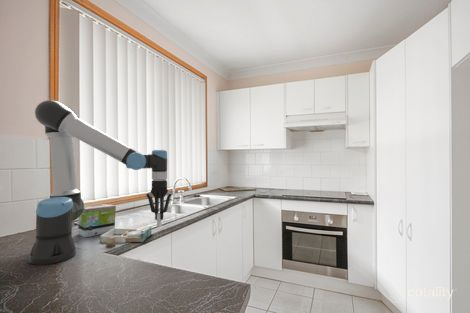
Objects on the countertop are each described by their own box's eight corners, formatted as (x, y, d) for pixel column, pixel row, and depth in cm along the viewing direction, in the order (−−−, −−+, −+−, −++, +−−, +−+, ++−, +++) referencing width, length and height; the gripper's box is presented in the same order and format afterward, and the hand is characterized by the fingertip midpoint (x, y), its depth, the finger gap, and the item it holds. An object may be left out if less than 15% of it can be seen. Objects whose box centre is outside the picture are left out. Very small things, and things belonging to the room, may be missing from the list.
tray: (142, 242, 116) (142, 233, 116) (117, 241, 116) (117, 233, 116) (151, 234, 129) (151, 226, 129) (128, 233, 128) (128, 226, 129)
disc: (138, 238, 119) (138, 235, 119) (124, 238, 119) (124, 235, 119) (143, 234, 126) (143, 231, 126) (130, 234, 126) (130, 231, 126)
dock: (125, 242, 115) (125, 236, 115) (99, 242, 115) (99, 236, 115) (136, 234, 129) (136, 228, 129) (113, 233, 129) (113, 228, 129)
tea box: (85, 238, 121) (86, 208, 121) (77, 234, 127) (78, 206, 127) (115, 231, 133) (116, 205, 133) (106, 228, 139) (107, 202, 139)
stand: (112, 247, 109) (112, 239, 109) (104, 246, 109) (105, 239, 109) (116, 244, 113) (116, 236, 113) (108, 244, 113) (109, 236, 113)
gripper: (174, 179, 127) (173, 224, 126) (149, 179, 127) (148, 224, 126) (170, 180, 119) (170, 228, 119) (144, 180, 119) (143, 228, 119)
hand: (159, 226), depth 123 cm, fingers closed
